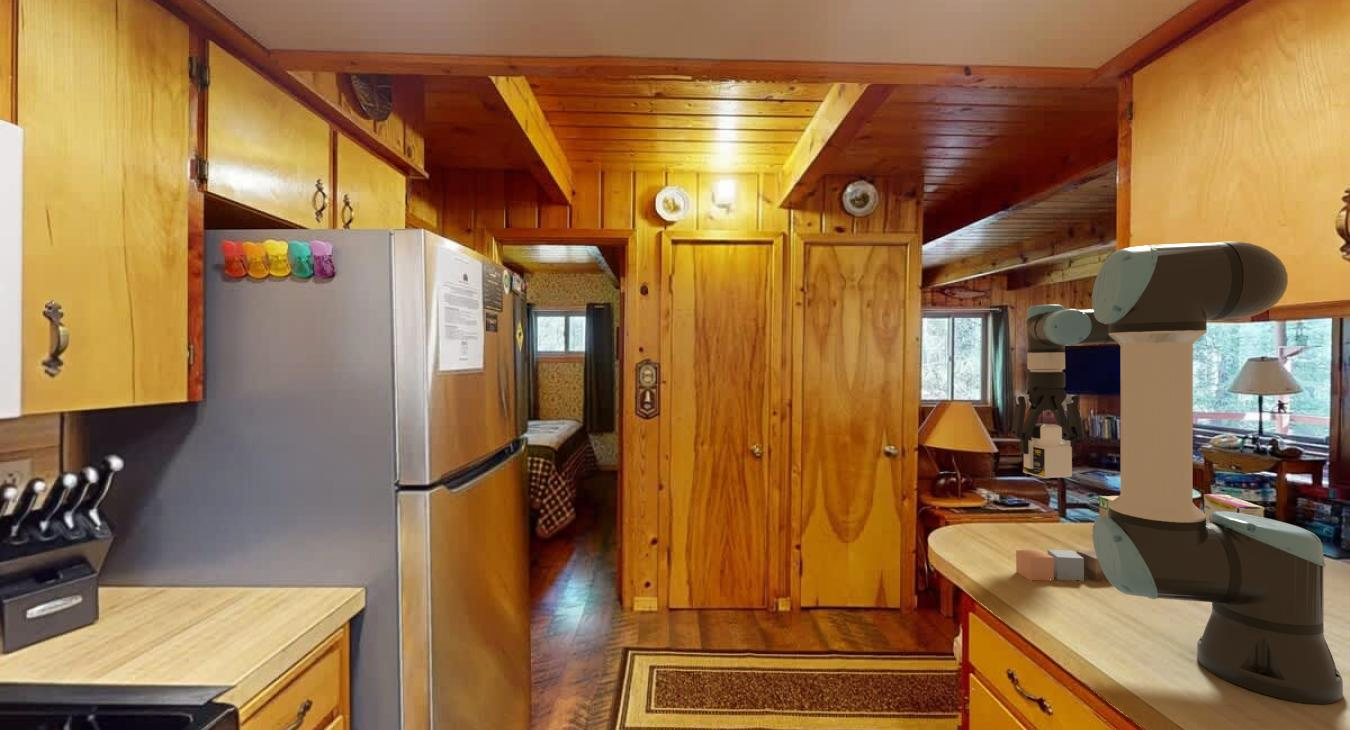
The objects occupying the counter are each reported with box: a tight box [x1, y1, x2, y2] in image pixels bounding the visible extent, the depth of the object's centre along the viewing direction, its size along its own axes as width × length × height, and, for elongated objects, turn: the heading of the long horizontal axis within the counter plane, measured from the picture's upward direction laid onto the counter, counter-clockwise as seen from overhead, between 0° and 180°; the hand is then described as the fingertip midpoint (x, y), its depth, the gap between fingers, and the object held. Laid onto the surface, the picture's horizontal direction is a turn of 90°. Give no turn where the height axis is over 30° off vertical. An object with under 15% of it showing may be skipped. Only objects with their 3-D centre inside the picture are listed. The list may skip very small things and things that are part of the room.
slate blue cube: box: [1047, 549, 1085, 582], centre depth 125 cm, size 5×5×5 cm
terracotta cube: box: [1015, 549, 1055, 581], centre depth 126 cm, size 5×5×5 cm
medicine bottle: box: [1022, 422, 1073, 479], centre depth 136 cm, size 7×7×12 cm
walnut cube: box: [1076, 549, 1108, 582], centre depth 125 cm, size 5×5×5 cm
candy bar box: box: [1203, 493, 1266, 523], centre depth 124 cm, size 11×5×16 cm, turn 167°
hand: (1046, 467), depth 136 cm, fingers closed on medicine bottle, 8 cm apart
